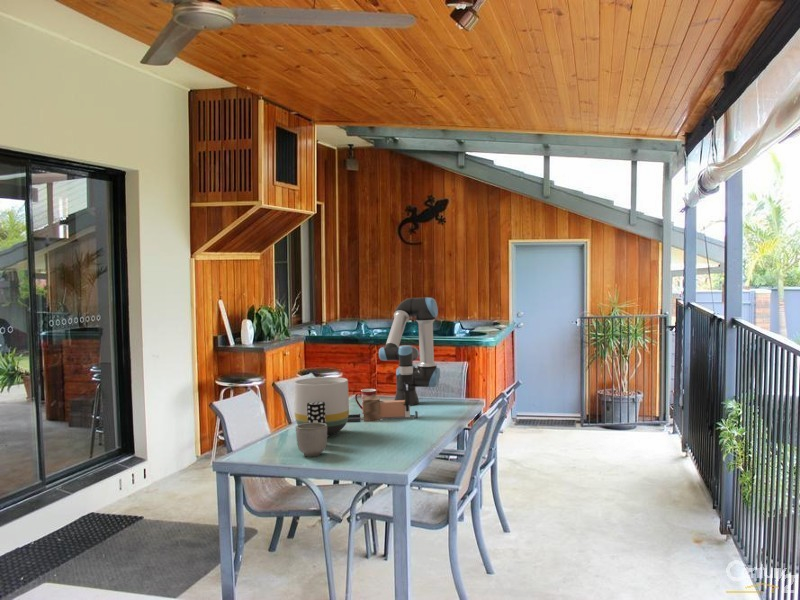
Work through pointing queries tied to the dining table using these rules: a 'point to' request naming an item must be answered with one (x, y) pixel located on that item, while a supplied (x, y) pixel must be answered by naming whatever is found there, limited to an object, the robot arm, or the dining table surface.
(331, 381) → the planter
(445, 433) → the dining table surface
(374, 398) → the open box
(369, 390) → the mug
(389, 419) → the pad
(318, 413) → the white-spotted black cylinder
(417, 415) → the track
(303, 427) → the planter
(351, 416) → the dark grey tray
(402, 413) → the block
